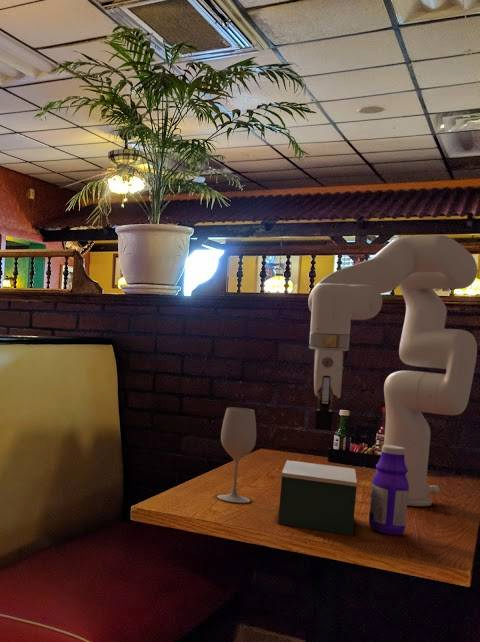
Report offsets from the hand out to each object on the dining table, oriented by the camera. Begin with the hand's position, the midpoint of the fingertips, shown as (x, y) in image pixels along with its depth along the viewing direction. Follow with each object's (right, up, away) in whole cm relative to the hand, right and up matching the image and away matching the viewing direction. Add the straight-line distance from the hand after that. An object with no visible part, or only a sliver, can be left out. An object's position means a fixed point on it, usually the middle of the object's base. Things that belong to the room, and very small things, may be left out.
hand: (323, 429), depth 158 cm
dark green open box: (-2, -19, 0) cm, 19 cm away
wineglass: (-14, -18, +15) cm, 27 cm away
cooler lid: (-1, -9, -1) cm, 10 cm away
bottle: (+10, -20, -6) cm, 23 cm away
